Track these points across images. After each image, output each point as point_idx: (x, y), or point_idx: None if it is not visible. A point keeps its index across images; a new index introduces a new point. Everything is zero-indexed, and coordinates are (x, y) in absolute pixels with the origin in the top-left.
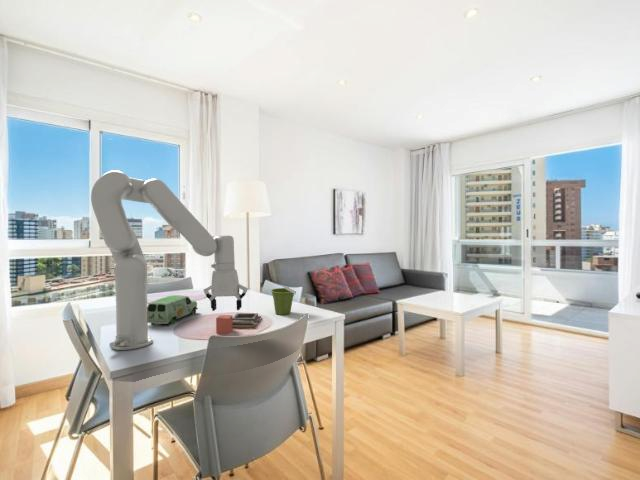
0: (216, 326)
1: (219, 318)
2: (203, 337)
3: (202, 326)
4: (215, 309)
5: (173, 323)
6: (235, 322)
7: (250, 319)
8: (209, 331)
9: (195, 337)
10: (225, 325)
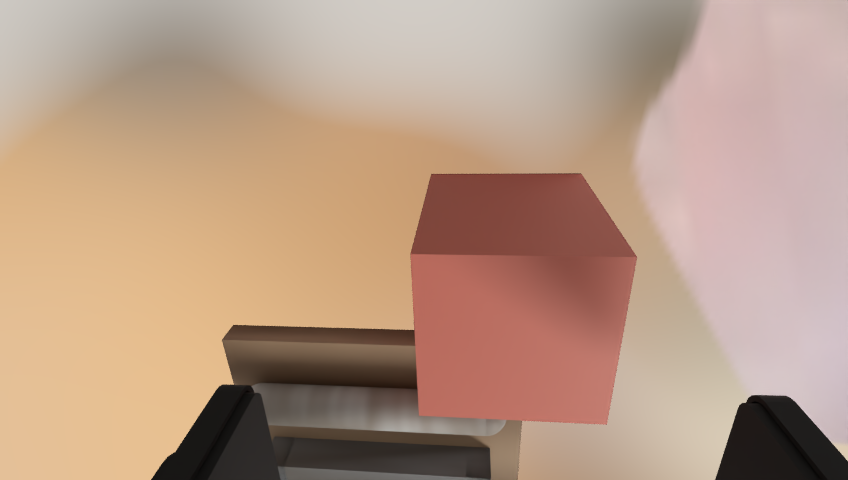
0: (597, 204)
1: (576, 255)
2: (719, 13)
3: None
4: (721, 465)
5: None
6: None
7: (295, 463)
8: (676, 244)
9: (834, 6)
10: (472, 209)
